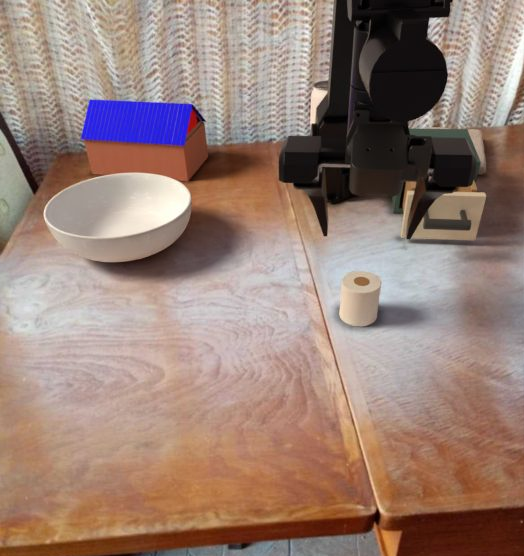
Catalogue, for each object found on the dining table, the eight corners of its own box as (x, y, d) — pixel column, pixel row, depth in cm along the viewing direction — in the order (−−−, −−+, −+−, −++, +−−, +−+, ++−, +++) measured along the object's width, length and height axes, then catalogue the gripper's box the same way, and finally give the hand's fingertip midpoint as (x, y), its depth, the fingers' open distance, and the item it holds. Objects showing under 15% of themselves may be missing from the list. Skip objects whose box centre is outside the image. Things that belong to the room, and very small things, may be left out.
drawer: (480, 257, 74) (492, 211, 69) (403, 254, 75) (410, 209, 71) (462, 201, 86) (472, 159, 82) (396, 199, 88) (402, 158, 83)
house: (189, 182, 98) (180, 115, 90) (89, 174, 102) (73, 110, 94) (210, 156, 106) (203, 93, 98) (117, 150, 110) (104, 89, 103)
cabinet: (468, 215, 85) (481, 161, 79) (393, 213, 86) (400, 160, 80) (456, 178, 95) (467, 129, 89) (389, 177, 96) (395, 128, 90)
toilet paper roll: (331, 313, 67) (333, 279, 64) (358, 299, 69) (361, 265, 66) (357, 331, 64) (361, 297, 61) (384, 316, 66) (389, 282, 63)
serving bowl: (173, 287, 73) (165, 242, 68) (31, 276, 76) (15, 232, 71) (211, 214, 88) (207, 173, 83) (91, 208, 91) (81, 168, 87)
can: (340, 156, 104) (345, 90, 96) (307, 155, 105) (309, 89, 97) (343, 144, 108) (348, 80, 100) (312, 143, 110) (313, 79, 102)
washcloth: (479, 140, 107) (482, 124, 105) (486, 178, 94) (490, 161, 92) (417, 137, 110) (420, 122, 108) (416, 174, 97) (419, 157, 94)
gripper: (269, 112, 44) (273, 272, 55) (506, 114, 42) (464, 281, 52) (283, 74, 52) (285, 220, 63) (482, 74, 50) (450, 225, 60)
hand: (366, 236), depth 59 cm, fingers open, 9 cm apart
